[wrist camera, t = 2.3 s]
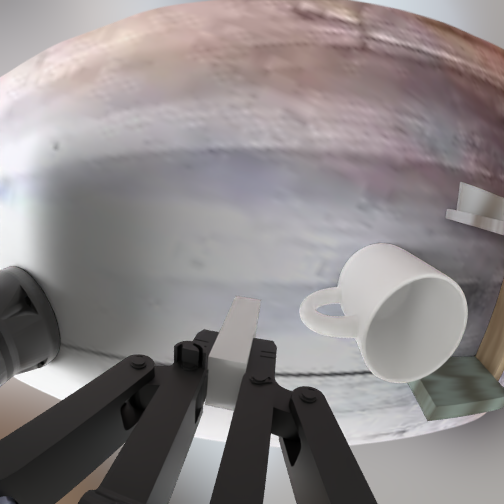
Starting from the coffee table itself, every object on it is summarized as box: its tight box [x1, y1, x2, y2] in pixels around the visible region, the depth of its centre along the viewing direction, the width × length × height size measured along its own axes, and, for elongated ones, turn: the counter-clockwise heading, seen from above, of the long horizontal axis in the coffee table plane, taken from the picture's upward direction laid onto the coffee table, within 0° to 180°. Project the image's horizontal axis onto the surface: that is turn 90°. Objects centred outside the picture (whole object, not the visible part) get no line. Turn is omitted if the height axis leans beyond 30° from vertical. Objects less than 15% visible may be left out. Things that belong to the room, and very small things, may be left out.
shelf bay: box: [407, 182, 504, 421], centre depth 21 cm, size 13×23×10 cm, turn 172°
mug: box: [299, 243, 468, 383], centre depth 21 cm, size 12×8×10 cm
